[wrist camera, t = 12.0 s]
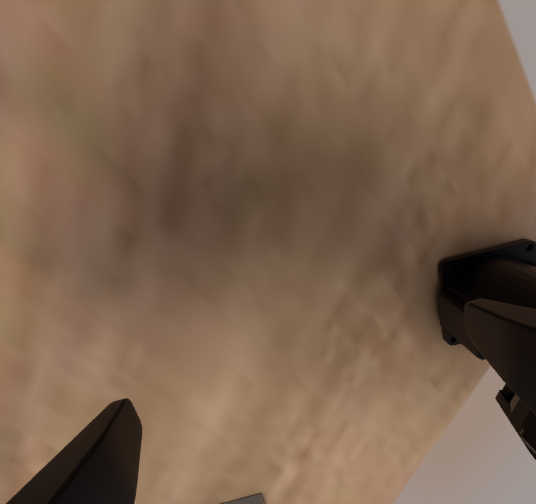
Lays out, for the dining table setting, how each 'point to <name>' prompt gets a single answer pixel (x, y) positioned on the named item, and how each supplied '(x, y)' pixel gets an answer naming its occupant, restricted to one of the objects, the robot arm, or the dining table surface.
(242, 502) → the tile
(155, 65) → the dining table surface
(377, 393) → the dining table surface
